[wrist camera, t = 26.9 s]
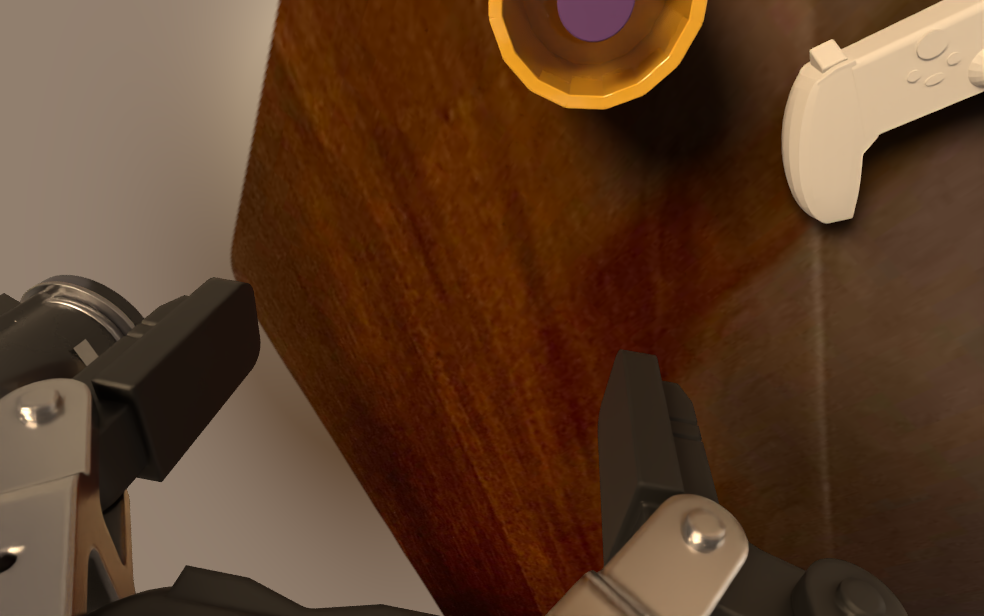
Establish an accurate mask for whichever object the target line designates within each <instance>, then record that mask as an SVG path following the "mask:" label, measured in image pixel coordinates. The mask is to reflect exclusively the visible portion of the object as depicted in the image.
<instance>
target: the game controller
mask: <svg viewBox="0 0 984 616" xmlns="http://www.w3.org/2000/svg"><path fill="white" fill-rule="evenodd" d="M983 91H984V0H943V1H941V2H939V3H937V4H935V5H932V6H930V7H928V8H926V9H924V10H922V11H920V12H918V13H916V14H914V15H912V16H910V17H908V18H906V19H903V20H901V21H899V22H897V23H895V24H893V25H891V26H889V27H887V28H885V29H883V30H881V31H879V32H877V33H874V34H872V35H870V36H868V37H866V38H864V39H862V40H860V41H858V42H856V43H854V44H852V45H850V46H847V47H845V48H843V49H840V48H839V46H838V45H837V44H836V42H835V41H834V40H833V39H831V40H829V41H827V42H825V43H823V44H821V45H819V46H817V47H815V48H812V49H811V50H810V62H808V63H807V64H805V65H804V66H803V67H802V68H801V70H800V72H799V74H798V76H797V78H796V80H795V82H794V84H793V86H792V89H791V91H790V94H789V97H788V100H787V104H786V107H785V112H784V118H783V125H782V157H783V164H784V170H785V174H786V178H787V181H788V184H789V187H790V190H791V192H792V194H793V197H794V198H795V200H796V202H797V203H798V205H799V206H800V207H801V208H802V210H803V211H804V212H806V213H807V214H808V215H809V216H811V217H813V218H815V219H817V220H819V221H821V222H823V223H826V224H828V223H832V222H837V221H842V220H846V219H851V218H852V217H853V214H854V210H855V206H856V202H857V198H858V193H859V187H860V180H861V171H862V159H863V154H864V153H865V152H866V150H867V149H868V148H869V147H870V146H871V145H872V144H873V142H874V141H875V140H876V139H877V138H878V136H879V134H881V133H884V132H886V131H889V130H891V129H893V128H896V127H898V126H901V125H903V124H906V123H908V122H910V121H913V120H915V119H918V118H920V117H923V116H925V115H928V114H930V113H932V112H935V111H937V110H940V109H942V108H945V107H947V106H949V105H952V104H954V103H957V102H959V101H962V100H964V99H966V98H969V97H971V96H974V95H976V94H979V93H981V92H983Z"/></svg>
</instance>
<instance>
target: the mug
mask: <svg viewBox="0 0 984 616" xmlns="http://www.w3.org/2000/svg"><path fill="white" fill-rule="evenodd" d="M707 1H708V0H635V4H634V8H633V12H632V14H631V16H630V18H629V20H628V22H627V23H626V24H625V26H624V27H623V28H622V29H621V30H620V31H619V32H618V33H617V34H615V35H614V36H612V37H611V38H609V39H606V40H603V41H599V42H586V41H582V40H580V39H577V38H576V37H574V36H573V35H571V34H570V33H569V32H568V31H567V30H566V28H565V27H564V26H563V24H562V22H561V20H560V17H559V14H558V8H557V0H489V18H490V19H489V21H490V24H491V27H492V30H493V32H494V35H495V38H496V41H497V44H498V46H499V49H500V52H501V55H502V58H503V59H504V61H505V63H506V64H507V65H508V66H509V67H510V69H511V70H512V71H513V72H514V73H515V74H516V75H517V77H518V78H519V79H520V80H521V81H522V82H523V83H524V85H525V86H526V87H527V88H528V89H529V90H530V91H531V92H533V93H535V94H537V95H539V96H541V97H543V98H545V99H547V100H549V101H551V102H554V103H556V104H558V105H560V106H562V107H564V108H569V109H594V110H604V109H609V108H612V107H614V106H617V105H620V104H623V103H625V102H628V101H631V100H634V99H636V98H639V97H642V96H643V95H646V94H647V93H648V92H649V91H650V90H651V89H653V88H654V87H655V86H656V85H657V84H658V83H660V82H661V81H662V80H663V79H664V78H665V77H666V76H668V75H669V74H670V73H671V72H672V71H673V70H675V69H676V68H677V67H678V65H679V64H680V63H681V61H682V59H683V58H684V56H685V54H686V52H687V51H688V49H689V47H690V46H691V44H692V42H693V40H694V39H695V37H696V35H697V33H698V32H699V30H700V28H701V26H702V24H703V22H704V17H705V12H706V7H707Z"/></svg>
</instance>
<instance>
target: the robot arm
mask: <svg viewBox="0 0 984 616" xmlns="http://www.w3.org/2000/svg"><path fill="white" fill-rule="evenodd" d="M259 351H260V334H259V327H258V319H257V312H256V305H255V297H254V291H253V288H252V287H251V285H250V284H248V283H244V282H238V281H232V280H226V279H220V278H215V277H214V278H210V279H209V280H207V281H206V282H205V283H204V284H203V285H201V286H200V287H199V288H198V289H197V290H195V291H194V292H193V293H192V294H191V295H190V296H185V295H184V296H182V297H180V298H178V299H175V300H173V301H170V302H168V303H166V304H164V305H162V306H159V307H158V308H157V309H156V310H155V311H153V312H152V313H151V314H150V315H149V316H147V317H146V318H145V319H144V320H142V324H138V325H136V326H135V327H134V328H133V329H131V330H130V331H129V332H128V333H127V336H124V335H123V334H122V333H121V331H120V330H119V329H118V328H117V327H116V326H115V324H114V323H112V322H111V321H110V320H109V319H108V318H107V317H106V316H104V315H103V314H102V313H100V312H99V311H97V310H96V309H94V308H92V307H91V306H89V305H87V304H84V303H82V302H80V301H77V300H74V299H70V298H65V297H53V296H51V295H49V294H48V293H46V292H44V291H40V292H39V293H37V294H35V295H34V296H32V297H30V298H29V299H27V300H25V301H24V302H22V303H20V302H18V301H17V300H15V299H13V298H11V297H10V296H8V295H6V294H5V293H4V294H2V295H0V616H438V615H433V614H428V613H423V612H418V611H413V610H408V609H403V608H398V607H392V606H388V605H383V604H379V605H363V606H348V607H332V608H318V609H317V608H316V609H311V608H306V607H303V606H301V605H299V604H297V603H295V602H293V601H292V600H290V599H288V598H286V597H284V596H282V595H280V594H278V593H277V592H274V591H273V590H271V589H269V588H267V587H265V586H263V585H262V584H260V583H258V582H256V581H254V580H252V579H250V578H247V577H242V576H237V575H232V574H227V573H222V572H217V571H212V570H207V569H202V568H197V567H192V566H187V565H186V566H185V568H184V570H183V571H182V572H181V574H180V576H179V577H178V579H177V580H176V582H175V583H174V585H173V586H172V587H163V588H158V589H152V590H147V591H144V592H140V593H137V594H136V593H135V587H134V582H133V581H134V580H133V563H132V542H131V521H130V499H129V494H128V492H127V488H128V486H129V485H130V484H131V483H132V482H133V481H134V480H135V478H136V477H137V478H142V479H147V480H153V481H158V482H162V481H163V480H164V479H165V477H166V476H167V475H168V474H169V472H170V471H171V470H172V469H173V467H174V466H175V465H176V464H177V462H178V461H179V460H180V459H181V457H182V456H183V455H184V453H185V452H186V451H187V450H188V449H189V447H190V446H191V445H192V444H193V442H194V441H195V440H196V439H197V437H198V436H199V435H200V434H201V432H202V431H203V430H204V429H205V427H206V426H207V425H208V424H209V422H210V421H211V420H212V418H213V417H214V416H215V415H216V414H217V412H218V411H219V410H220V409H221V407H222V406H223V405H224V404H225V402H226V401H227V400H228V399H229V397H230V396H231V395H232V394H233V392H234V391H235V390H236V388H237V387H238V386H239V385H240V384H241V382H242V381H243V380H244V379H245V377H246V376H247V375H248V373H249V372H250V371H251V370H252V369H253V367H254V365H255V364H256V361H257V359H258V356H259ZM598 446H599V468H600V490H601V511H602V533H603V554H604V568H603V569H602V570H601V571H600V572H598V573H596V572H595V571H593V570H592V571H589V572H588V573H586V574H585V575H584V576H583V577H582V578H580V579H579V580H578V581H577V583H576V584H575V585H574V586H573V587H572V588H571V589H570V590H569V591H568V592H567V593H566V594H565V595H564V596H563V597H562V598H561V599H560V601H559V602H558V603H557V604H556V605H555V606H554V607H553V608H552V609H551V610H550V611H549V612H548V613H547V614H546V615H545V616H908V615H907V613H906V611H905V609H904V607H903V606H902V604H901V603H900V601H899V600H898V599H897V597H896V596H895V595H894V594H893V593H892V592H891V590H890V589H889V588H887V587H886V586H885V585H884V584H883V583H882V582H881V581H880V580H879V579H877V578H876V577H875V576H873V575H872V574H870V573H869V572H867V571H866V570H864V569H862V568H860V567H859V566H857V565H854V564H852V563H850V562H847V561H843V560H839V559H833V558H825V559H820V560H818V561H815V562H814V563H813V564H811V565H810V566H809V568H808V569H807V570H806V571H805V570H803V569H800V568H798V567H796V566H794V565H792V564H790V563H788V562H785V561H783V560H781V559H779V558H777V557H775V556H773V555H770V554H768V553H766V552H764V551H762V550H760V549H759V548H757V547H755V546H754V545H752V544H751V543H749V542H748V540H747V537H746V534H745V532H744V530H743V528H742V527H741V525H740V524H739V522H738V521H737V520H736V519H735V517H734V516H733V515H732V514H731V513H730V512H728V511H727V510H726V509H725V508H723V507H722V506H721V505H719V502H718V498H717V494H716V491H715V487H714V483H713V479H712V476H711V472H710V468H709V464H708V460H707V457H706V453H705V449H704V445H703V442H701V434H700V430H699V426H697V419H696V415H695V411H694V407H693V404H692V402H691V400H690V399H689V398H688V396H687V395H686V394H685V393H684V391H683V390H682V389H681V387H680V386H679V385H678V384H677V383H671V382H665V381H662V380H661V375H660V370H659V365H658V360H657V357H656V356H655V355H650V354H644V353H638V352H632V351H627V350H621V349H620V350H619V351H618V353H617V356H616V358H615V362H614V365H613V368H612V371H611V375H610V378H609V381H608V384H607V388H606V391H605V394H604V397H603V401H602V404H601V408H600V413H599V421H598Z"/></svg>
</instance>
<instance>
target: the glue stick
mask: <svg viewBox="0 0 984 616" xmlns="http://www.w3.org/2000/svg"><path fill="white" fill-rule="evenodd" d="M634 4H635V0H557V8H558V14H559V17H560V20H561V22H562V24H563V26H564V27H565V28H566V30H567V31H568V32H569V33H570V34H571V35H573V36H574V37H576V38H577V39H580V40H582V41H586V42H599V41H603V40H606V39H609V38H611V37H612V36H614V35H615V34H617V33H618V32H619V31H620V30H621V29H622V28H623V27H624V26H625V24H626V23H627V22H628V20H629V18H630V16H631V14H632V12H633V8H634Z"/></svg>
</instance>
